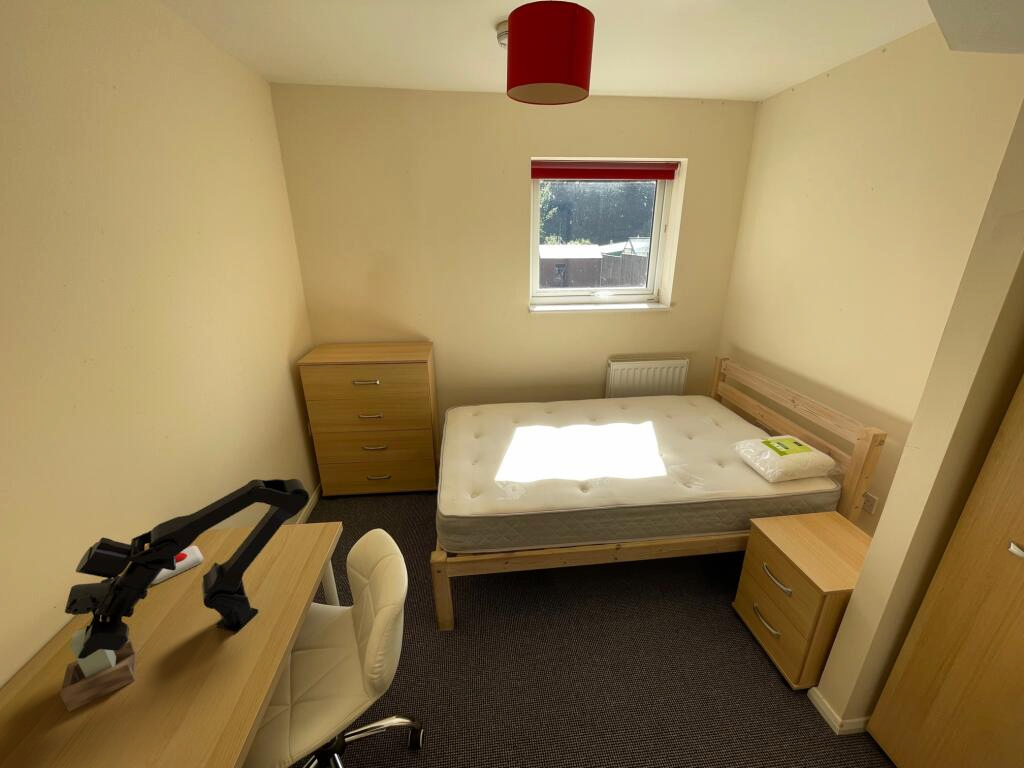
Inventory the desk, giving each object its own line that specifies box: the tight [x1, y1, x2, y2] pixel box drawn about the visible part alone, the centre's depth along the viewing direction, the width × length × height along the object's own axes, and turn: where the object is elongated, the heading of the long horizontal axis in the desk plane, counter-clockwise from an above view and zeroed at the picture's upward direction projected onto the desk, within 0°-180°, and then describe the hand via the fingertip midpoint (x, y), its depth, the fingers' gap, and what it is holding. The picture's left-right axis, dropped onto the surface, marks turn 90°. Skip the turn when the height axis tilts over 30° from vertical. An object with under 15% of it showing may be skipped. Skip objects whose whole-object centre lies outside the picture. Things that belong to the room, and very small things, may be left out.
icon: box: [151, 545, 204, 585], centre depth 121 cm, size 12×4×10 cm
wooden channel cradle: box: [59, 637, 137, 713], centre depth 89 cm, size 10×8×5 cm
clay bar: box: [69, 627, 116, 679], centre depth 87 cm, size 4×4×10 cm
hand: (82, 650), depth 86 cm, fingers closed on clay bar, 4 cm apart
